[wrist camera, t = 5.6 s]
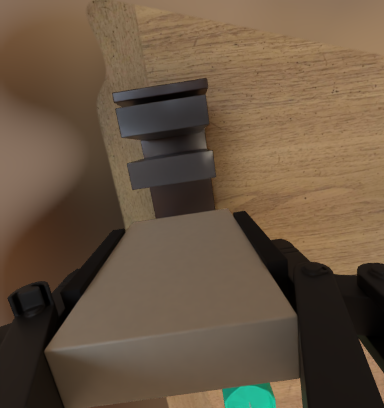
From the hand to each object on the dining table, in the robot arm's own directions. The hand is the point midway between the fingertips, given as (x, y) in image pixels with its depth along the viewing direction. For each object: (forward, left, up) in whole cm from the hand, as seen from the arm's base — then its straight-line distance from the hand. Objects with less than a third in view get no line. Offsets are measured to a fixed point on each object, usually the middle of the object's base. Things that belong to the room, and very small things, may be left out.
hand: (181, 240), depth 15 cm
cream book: (0, 0, -2) cm, 2 cm away
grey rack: (-2, -1, -17) cm, 17 cm away
